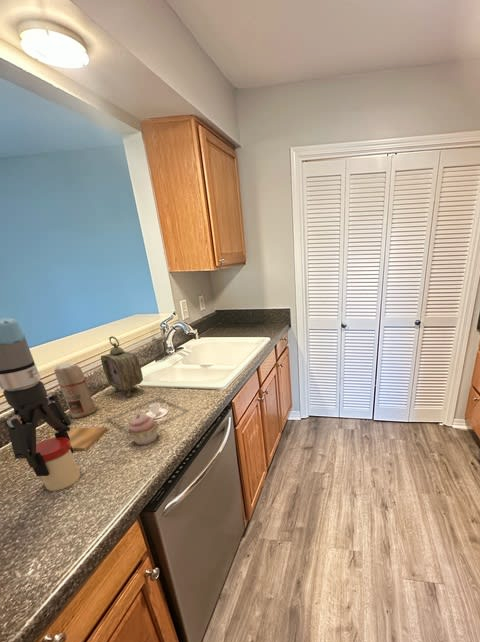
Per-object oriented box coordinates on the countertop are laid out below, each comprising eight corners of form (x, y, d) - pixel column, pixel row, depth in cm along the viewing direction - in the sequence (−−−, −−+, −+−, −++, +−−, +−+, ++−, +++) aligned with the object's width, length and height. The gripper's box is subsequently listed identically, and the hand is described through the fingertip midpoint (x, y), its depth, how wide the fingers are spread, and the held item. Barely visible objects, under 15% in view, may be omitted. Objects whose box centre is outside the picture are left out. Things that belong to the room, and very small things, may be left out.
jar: (38, 491, 84) (23, 458, 80) (59, 472, 91) (46, 440, 87) (67, 490, 84) (53, 457, 80) (86, 471, 91) (74, 439, 87)
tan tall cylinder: (65, 417, 122) (46, 367, 114) (84, 407, 129) (67, 360, 121) (82, 420, 119) (64, 369, 111) (101, 409, 126) (85, 361, 118)
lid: (55, 462, 80) (52, 455, 79) (21, 462, 80) (18, 456, 79) (78, 442, 87) (75, 436, 87) (47, 443, 88) (45, 437, 87)
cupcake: (125, 441, 104) (117, 414, 100) (153, 429, 110) (146, 403, 106) (138, 452, 98) (129, 424, 94) (167, 438, 105) (160, 411, 101)
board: (36, 452, 101) (34, 449, 101) (62, 431, 112) (61, 428, 112) (85, 450, 100) (84, 447, 100) (107, 430, 111) (106, 427, 111)
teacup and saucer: (150, 423, 114) (147, 413, 113) (138, 417, 119) (136, 407, 117) (172, 413, 121) (170, 403, 119) (160, 407, 125) (158, 398, 124)
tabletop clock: (110, 392, 141) (93, 337, 131) (130, 385, 148) (115, 331, 138) (127, 400, 133) (111, 341, 123) (148, 391, 140) (133, 335, 130)
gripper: (-2, 405, 66) (39, 491, 75) (68, 368, 86) (94, 440, 95) (-37, 406, 66) (8, 492, 76) (41, 369, 86) (69, 441, 95)
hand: (56, 463), depth 85 cm, fingers closed on lid, 8 cm apart
